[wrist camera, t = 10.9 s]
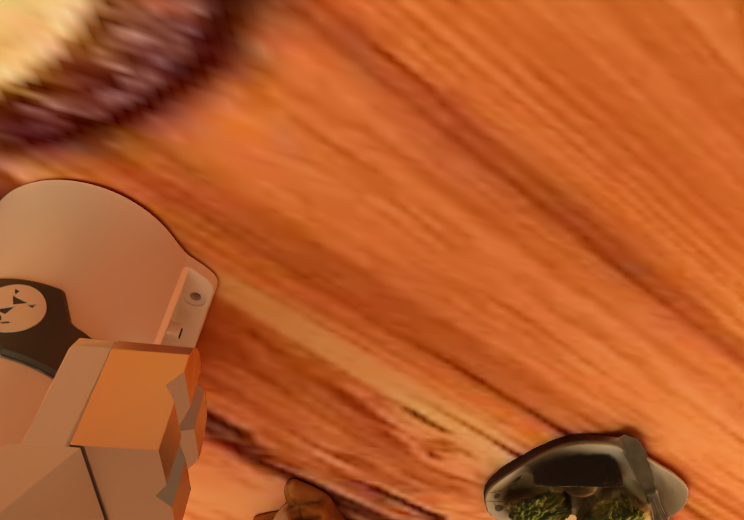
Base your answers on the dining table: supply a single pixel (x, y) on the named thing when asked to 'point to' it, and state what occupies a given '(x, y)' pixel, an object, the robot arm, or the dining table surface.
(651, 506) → the salad plate
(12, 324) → the robot arm
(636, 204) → the dining table surface
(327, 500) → the stuffed squirrel
